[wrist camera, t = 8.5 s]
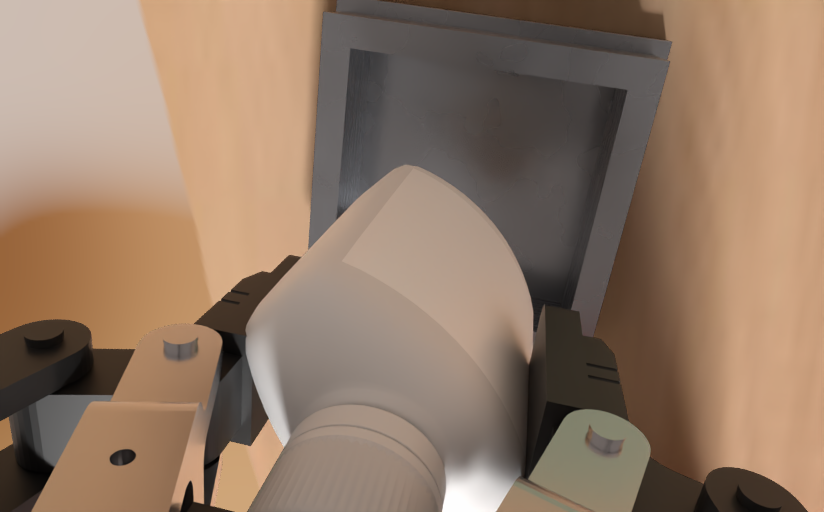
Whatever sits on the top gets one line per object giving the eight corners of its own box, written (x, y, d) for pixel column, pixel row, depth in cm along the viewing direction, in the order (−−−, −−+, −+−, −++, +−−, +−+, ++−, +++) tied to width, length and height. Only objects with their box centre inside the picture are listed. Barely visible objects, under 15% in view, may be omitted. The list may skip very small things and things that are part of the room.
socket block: (345, -5, 24) (309, -7, 20) (666, 40, 22) (692, 46, 18) (323, 276, 28) (291, 316, 25) (587, 329, 27) (595, 380, 23)
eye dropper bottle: (510, 143, 15) (444, 467, 5) (538, 340, 17) (541, 905, 6) (348, 169, 17) (-25, 482, 6) (390, 351, 18) (174, 855, 7)
